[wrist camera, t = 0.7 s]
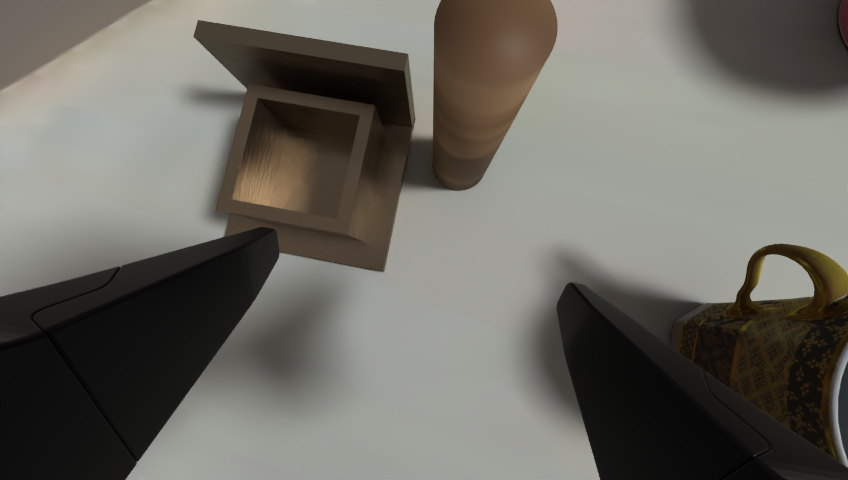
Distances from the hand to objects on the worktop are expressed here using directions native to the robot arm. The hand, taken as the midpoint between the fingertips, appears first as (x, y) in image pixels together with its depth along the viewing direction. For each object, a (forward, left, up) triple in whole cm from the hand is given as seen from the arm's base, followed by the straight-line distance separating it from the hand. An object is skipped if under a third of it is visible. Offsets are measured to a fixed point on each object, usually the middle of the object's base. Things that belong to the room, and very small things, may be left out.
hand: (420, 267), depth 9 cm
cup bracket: (+5, +9, -13) cm, 17 cm away
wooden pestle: (+8, -1, -13) cm, 15 cm away
